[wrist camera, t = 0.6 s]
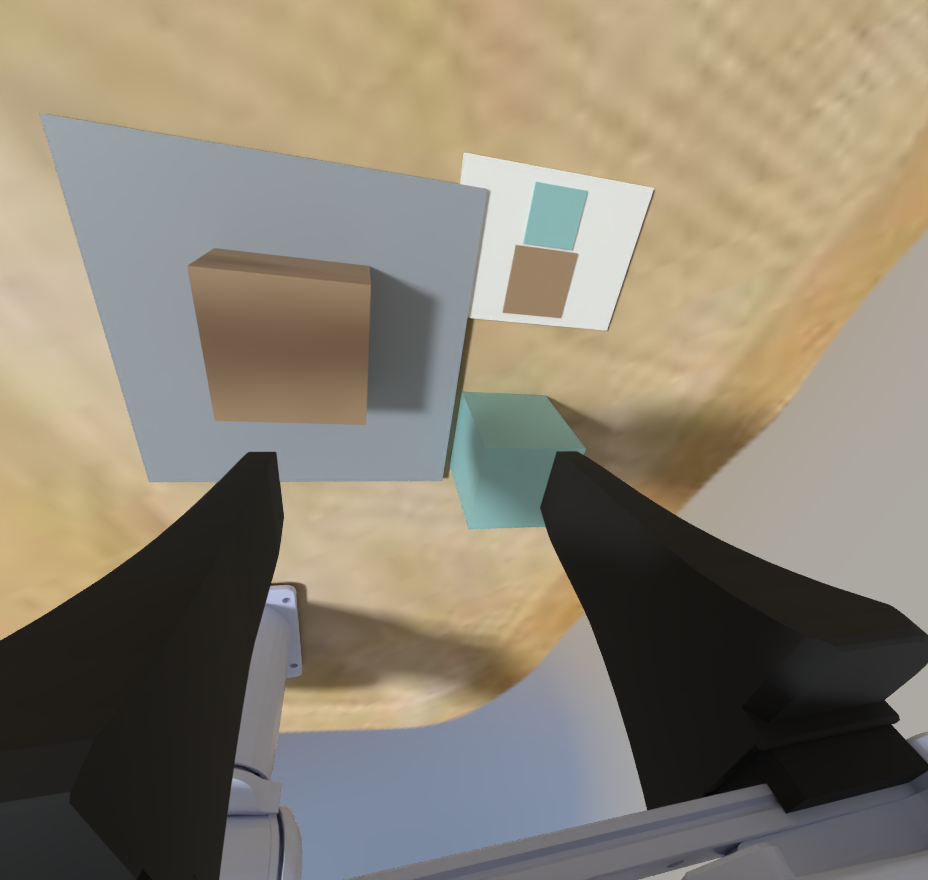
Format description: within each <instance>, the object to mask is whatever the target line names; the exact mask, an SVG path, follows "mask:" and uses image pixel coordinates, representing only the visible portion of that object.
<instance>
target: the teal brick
mask: <svg viewBox="0 0 928 880" xmlns="http://www.w3.org/2000/svg"><path fill="white" fill-rule="evenodd" d="M557 451H577V452H579V453H581V454H583V455H584V454H585V451H586V448H585V447H584V446H583V444H582V443H581V442H580V440H579V439H578V438H577V436H576V435H575V434H574V432H573V431H572V430H571V428H570V427H569V426H568V424H567V423H566V422H565V421H564V419H563V418H562V417H561V415H560V414H559V413H558V411H557V410H556V409H555V407H554V406H553V405H552V403H551V402H550V401H549V399H548V398H547V397H546V396H542V395H522V394H501V393H480V392H462V394H461V400H460V406H459V412H458V418H457V424H456V431H455V437H454V443H453V449H452V455H451V461H450V467H451V471H452V474H453V478H454V481H455V485H456V488H457V492H458V495H459V499H460V502H461V506H462V509H463V513H464V517H465V520H466V524H467V527H468V529H490V528H521V527H546V526H545V523H544V520H543V516H542V513H541V510H540V506H541V502H542V499H543V496H544V492H545V489H546V486H547V482H548V479H549V475H550V472H551V469H552V465H553V462H554V459H555V455H556V452H557Z"/></svg>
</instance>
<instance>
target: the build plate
mask: <svg viewBox="0 0 928 880" xmlns="http://www.w3.org/2000/svg"><path fill="white" fill-rule="evenodd" d="M39 114H40V117H41V121H42V124H43V127H44V131H45V134H46V137H47V141H48V144H49V148H50V151H51V154H52V158H53V161H54V164H55V168H56V171H57V174H58V178H59V181H60V185H61V188H62V191H63V195H64V198H65V201H66V205H67V208H68V211H69V215H70V218H71V221H72V225H73V228H74V232H75V235H76V238H77V242H78V245H79V248H80V252H81V255H82V258H83V262H84V265H85V268H86V272H87V275H88V279H89V282H90V285H91V289H92V292H93V295H94V299H95V302H96V305H97V309H98V312H99V315H100V319H101V322H102V326H103V329H104V332H105V336H106V339H107V342H108V346H109V349H110V352H111V356H112V359H113V362H114V366H115V369H116V373H117V376H118V379H119V383H120V386H121V389H122V393H123V396H124V399H125V403H126V406H127V410H128V413H129V416H130V420H131V423H132V426H133V430H134V433H135V436H136V440H137V443H138V446H139V450H140V453H141V457H142V460H143V463H144V467H145V470H146V473H147V477H148V480H149V482H218V481H219V480H220V479H221V478H222V477H223V476H224V475H225V474H226V473H227V472H228V471H229V470H230V469H231V468H232V467H233V466H234V465H235V464H236V463H237V462H238V461H239V460H240V459H241V458H242V457H243V456H244V455H245V454H246V453H248V452H276V453H277V461H278V470H279V479H280V482H298V481H442V479H443V473H444V466H445V460H446V453H447V447H448V440H449V434H450V427H451V421H452V414H453V408H454V402H455V395H456V389H457V382H458V376H459V369H460V363H461V356H462V350H463V343H464V337H465V330H466V324H467V318H468V311H469V305H470V298H471V292H472V285H473V279H474V272H475V266H476V259H477V253H478V247H479V240H480V234H481V227H482V221H483V214H484V208H485V201H486V195H487V189H486V188H480V187H474V186H469V185H463V184H458V183H452V182H446V181H440V180H434V179H428V178H422V177H416V176H410V175H404V174H398V173H392V172H387V171H381V170H375V169H369V168H363V167H357V166H351V165H345V164H339V163H333V162H327V161H321V160H315V159H310V158H304V157H298V156H292V155H286V154H280V153H274V152H268V151H262V150H256V149H250V148H244V147H238V146H233V145H227V144H221V143H215V142H209V141H203V140H197V139H191V138H185V137H179V136H173V135H167V134H161V133H156V132H150V131H144V130H138V129H132V128H126V127H120V126H114V125H108V124H102V123H96V122H90V121H84V120H79V119H73V118H67V117H61V116H55V115H49V114H41V113H39ZM214 248H218V249H227V250H236V251H244V252H253V253H262V254H270V255H279V256H288V257H296V258H305V259H314V260H323V261H331V262H340V263H349V264H357V265H366V266H370V279H371V299H370V328H369V357H368V386H367V415H366V425H348V424H310V423H273V422H236V421H215V419H214V414H213V408H212V403H211V397H210V391H209V386H208V380H207V375H206V369H205V363H204V358H203V352H202V347H201V341H200V336H199V330H198V324H197V319H196V313H195V308H194V302H193V297H192V291H191V285H190V280H189V274H188V269H187V266H188V265H189V264H191V263H192V262H194V261H195V260H197V259H198V258H200V257H201V256H203V255H204V254H206V253H207V252H209V251H210V250H212V249H214Z"/></svg>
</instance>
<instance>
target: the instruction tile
mask: <svg viewBox="0 0 928 880" xmlns="http://www.w3.org/2000/svg"><path fill="white" fill-rule="evenodd" d="M460 184H463V185H469V186H474V187H480V188H486V189H487V195H486V201H485V208H484V214H483V221H482V227H481V234H480V240H479V247H478V253H477V259H476V266H475V272H474V279H473V285H472V292H471V298H470V305H469V311H468V318H475V319H486V320H497V321H508V322H519V323H530V324H541V325H552V326H563V327H574V328H585V329H595V330H606V331H607V329H608V326H609V323H610V320H611V317H612V314H613V311H614V308H615V305H616V301H617V298H618V295H619V292H620V289H621V286H622V283H623V280H624V277H625V274H626V271H627V268H628V265H629V262H630V259H631V256H632V253H633V250H634V247H635V244H636V241H637V238H638V235H639V232H640V229H641V226H642V223H643V220H644V217H645V214H646V211H647V208H648V205H649V202H650V199H651V196H652V193H653V190H654V188H651V187H645V186H640V185H635V184H629V183H624V182H619V181H613V180H608V179H603V178H597V177H592V176H587V175H581V174H576V173H571V172H565V171H560V170H555V169H549V168H544V167H539V166H533V165H528V164H523V163H517V162H512V161H507V160H501V159H496V158H491V157H485V156H480V155H475V154H469V153H464V154H463V162H462V170H461V178H460Z"/></svg>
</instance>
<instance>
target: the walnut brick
mask: <svg viewBox="0 0 928 880" xmlns="http://www.w3.org/2000/svg"><path fill="white" fill-rule="evenodd" d="M187 269H188V274H189V280H190V285H191V291H192V297H193V302H194V308H195V313H196V319H197V324H198V330H199V336H200V341H201V347H202V352H203V358H204V363H205V369H206V375H207V380H208V386H209V391H210V397H211V403H212V408H213V414H214V419H215V421H236V422H273V423H310V424H348V425H366V415H367V386H368V357H369V328H370V299H371V279H370V266H366V265H357V264H349V263H340V262H331V261H323V260H314V259H305V258H296V257H288V256H279V255H270V254H262V253H253V252H244V251H236V250H227V249H218V248H214V249H212V250H210V251H209V252H207V253H206V254H204V255H203V256H201V257H200V258H198V259H197V260H195V261H194V262H192V263H191V264H189V265H188V266H187Z"/></svg>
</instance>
